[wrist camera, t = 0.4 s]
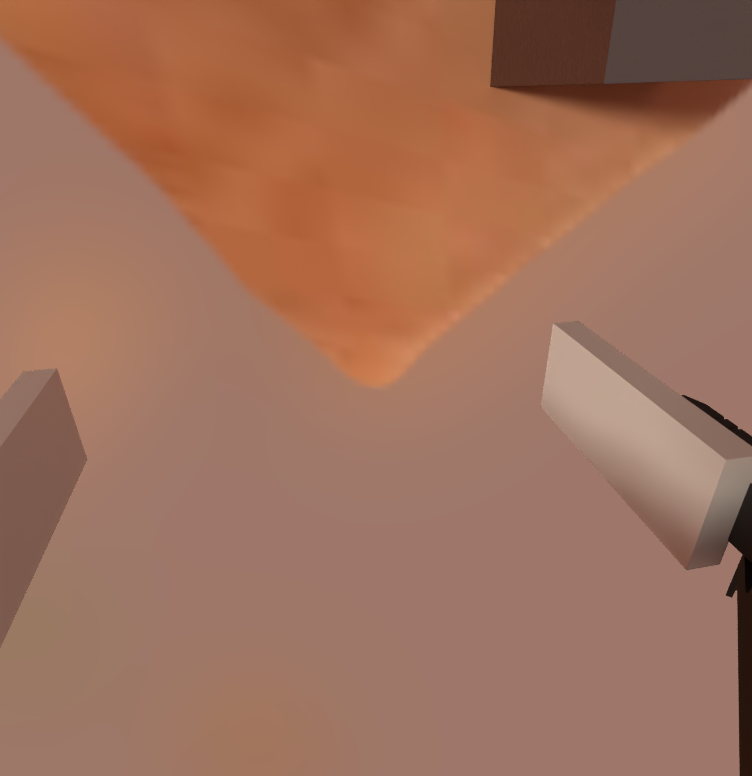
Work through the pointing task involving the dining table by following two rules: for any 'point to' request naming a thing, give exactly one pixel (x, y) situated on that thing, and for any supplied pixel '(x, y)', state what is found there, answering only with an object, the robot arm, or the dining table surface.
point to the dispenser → (620, 41)
